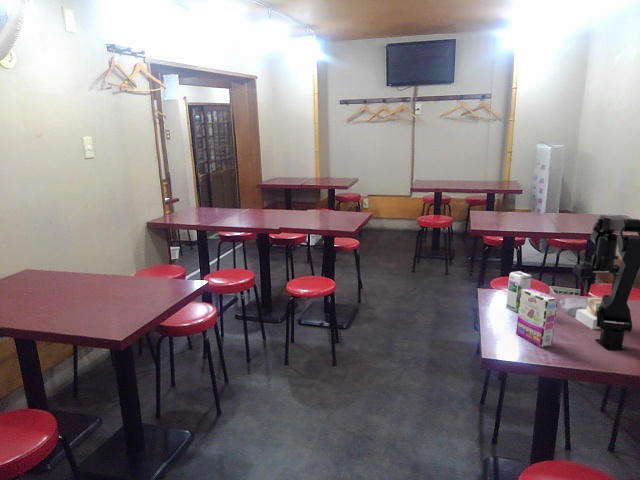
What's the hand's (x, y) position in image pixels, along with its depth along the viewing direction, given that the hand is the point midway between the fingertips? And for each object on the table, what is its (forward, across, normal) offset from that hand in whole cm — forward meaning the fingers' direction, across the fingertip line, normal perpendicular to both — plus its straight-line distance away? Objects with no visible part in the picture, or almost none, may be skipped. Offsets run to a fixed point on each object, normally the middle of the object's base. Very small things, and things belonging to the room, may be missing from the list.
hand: (599, 293), depth 159 cm
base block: (+12, 0, 0) cm, 12 cm away
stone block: (+12, +2, -11) cm, 16 cm away
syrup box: (+12, +23, -13) cm, 29 cm away
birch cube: (+8, 0, 0) cm, 8 cm away
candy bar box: (+11, +28, +13) cm, 33 cm away
